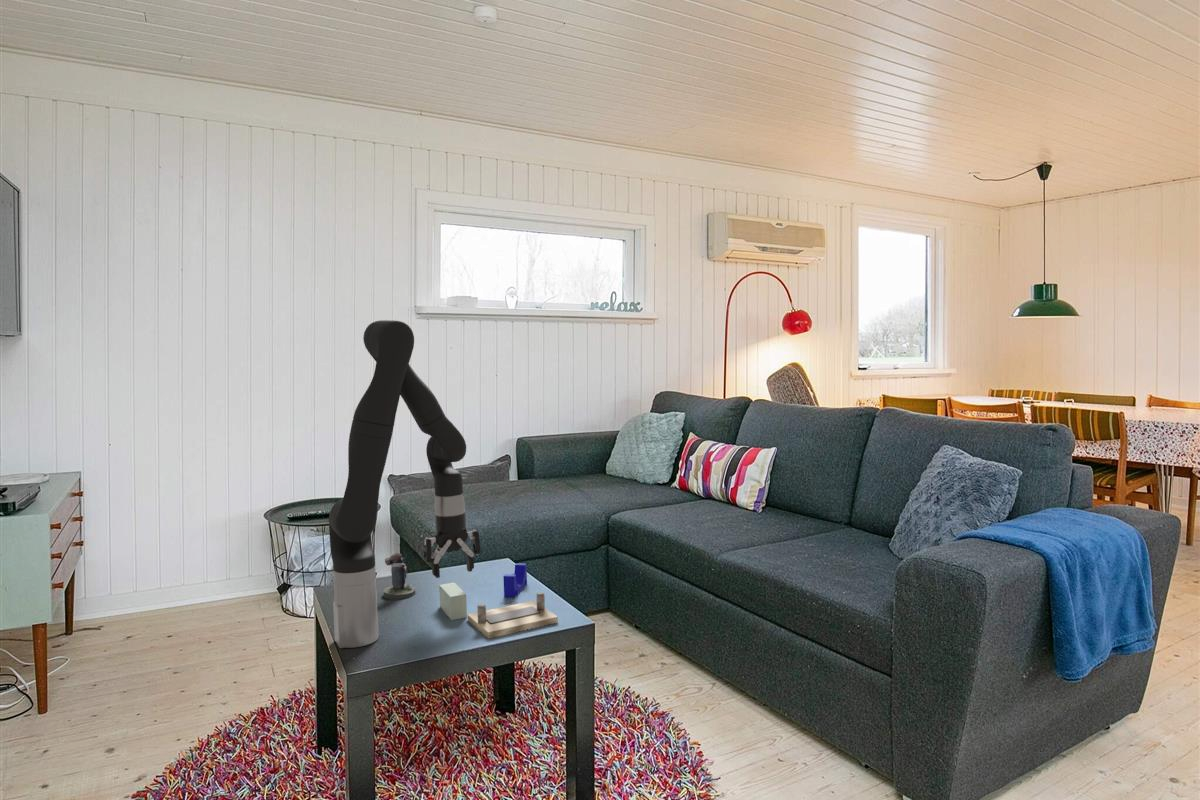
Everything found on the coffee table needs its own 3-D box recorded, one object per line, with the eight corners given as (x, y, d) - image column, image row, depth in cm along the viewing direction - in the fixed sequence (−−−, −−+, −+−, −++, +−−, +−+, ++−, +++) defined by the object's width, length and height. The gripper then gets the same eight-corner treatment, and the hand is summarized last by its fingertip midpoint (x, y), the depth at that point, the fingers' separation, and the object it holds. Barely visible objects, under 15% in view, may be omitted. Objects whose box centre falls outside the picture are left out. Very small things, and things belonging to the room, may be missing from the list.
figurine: (396, 601, 194) (394, 557, 194) (377, 595, 199) (375, 553, 199) (421, 592, 201) (420, 550, 200) (402, 587, 206) (400, 546, 205)
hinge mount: (488, 638, 167) (487, 615, 166) (467, 620, 179) (466, 598, 178) (557, 622, 176) (557, 600, 175) (533, 606, 188) (533, 585, 187)
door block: (466, 617, 181) (466, 594, 181) (451, 620, 179) (450, 596, 179) (455, 604, 191) (454, 582, 191) (440, 607, 189) (439, 584, 189)
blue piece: (512, 583, 208) (511, 563, 207) (527, 584, 207) (526, 563, 207) (498, 597, 196) (498, 575, 196) (514, 598, 195) (514, 576, 195)
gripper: (426, 518, 177) (430, 583, 178) (481, 510, 184) (485, 572, 185) (418, 513, 183) (422, 575, 184) (471, 505, 190) (475, 565, 191)
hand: (453, 574), depth 185 cm, fingers open, 8 cm apart
